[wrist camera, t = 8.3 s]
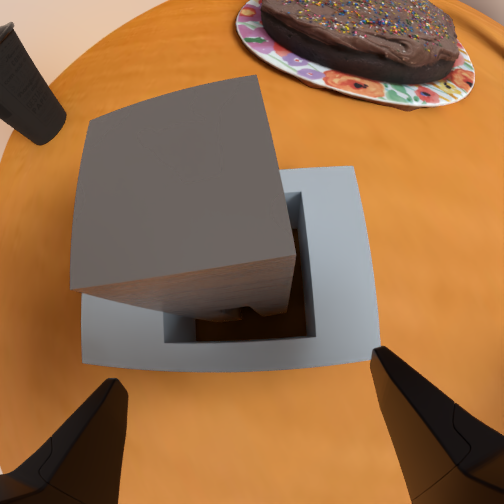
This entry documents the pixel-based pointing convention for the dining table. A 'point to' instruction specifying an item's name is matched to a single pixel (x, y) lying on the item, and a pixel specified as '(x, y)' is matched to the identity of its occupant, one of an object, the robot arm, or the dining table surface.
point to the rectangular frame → (314, 288)
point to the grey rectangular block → (184, 206)
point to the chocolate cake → (362, 48)
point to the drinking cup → (26, 92)
